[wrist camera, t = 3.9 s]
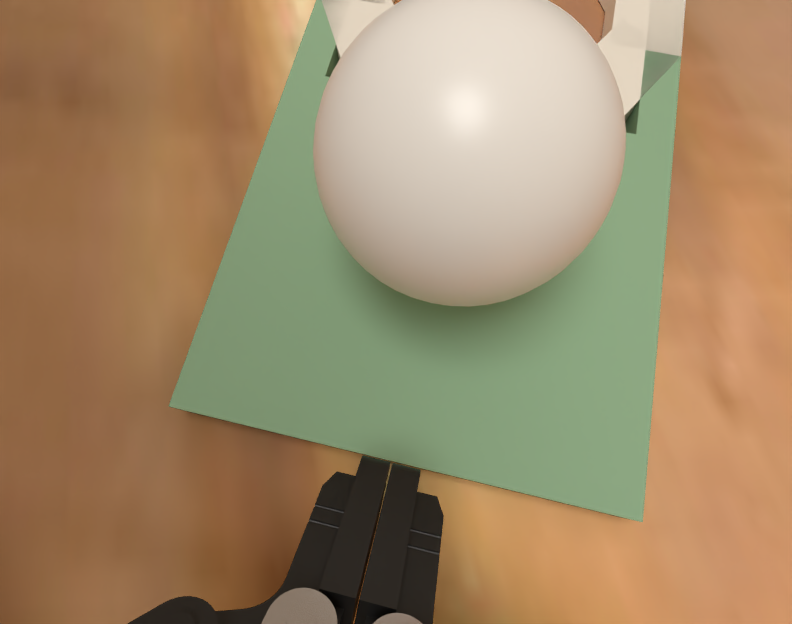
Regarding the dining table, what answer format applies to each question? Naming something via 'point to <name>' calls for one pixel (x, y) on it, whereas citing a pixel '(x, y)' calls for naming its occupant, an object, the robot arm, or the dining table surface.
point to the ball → (469, 147)
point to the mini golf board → (450, 309)
